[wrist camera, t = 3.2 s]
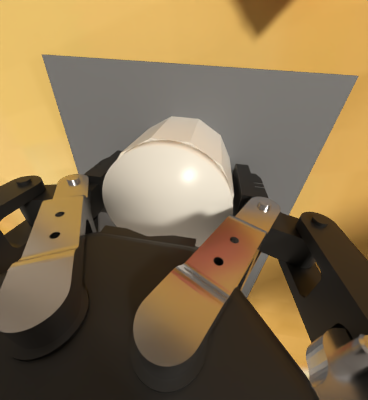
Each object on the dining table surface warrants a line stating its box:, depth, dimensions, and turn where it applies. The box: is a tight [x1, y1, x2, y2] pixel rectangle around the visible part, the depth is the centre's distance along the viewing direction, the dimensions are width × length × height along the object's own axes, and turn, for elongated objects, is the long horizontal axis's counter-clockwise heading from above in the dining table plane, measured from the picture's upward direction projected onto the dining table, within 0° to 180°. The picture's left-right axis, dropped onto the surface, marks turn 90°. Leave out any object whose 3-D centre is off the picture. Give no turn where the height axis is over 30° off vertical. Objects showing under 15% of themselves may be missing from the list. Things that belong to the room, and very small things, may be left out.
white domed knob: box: [102, 116, 234, 247], centre depth 11 cm, size 6×6×5 cm
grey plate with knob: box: [42, 55, 358, 298], centre depth 15 cm, size 24×16×8 cm, turn 177°
